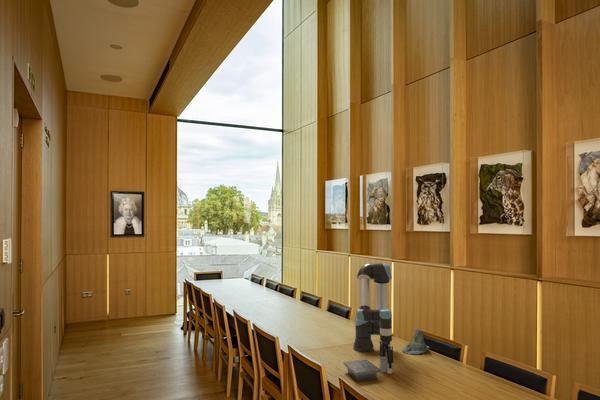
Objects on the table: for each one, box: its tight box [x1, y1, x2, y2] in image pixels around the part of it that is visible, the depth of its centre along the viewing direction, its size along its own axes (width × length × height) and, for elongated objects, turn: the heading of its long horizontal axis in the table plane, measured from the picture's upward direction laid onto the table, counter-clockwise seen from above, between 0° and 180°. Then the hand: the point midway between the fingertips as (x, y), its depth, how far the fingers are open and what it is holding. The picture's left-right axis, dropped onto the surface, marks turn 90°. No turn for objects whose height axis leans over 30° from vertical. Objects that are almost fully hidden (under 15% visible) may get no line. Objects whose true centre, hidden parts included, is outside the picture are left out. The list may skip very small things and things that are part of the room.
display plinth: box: [343, 358, 381, 382], centre depth 259 cm, size 20×16×6 cm
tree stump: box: [401, 328, 430, 356], centre depth 309 cm, size 18×20×18 cm
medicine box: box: [379, 356, 394, 374], centre depth 266 cm, size 8×4×9 cm, turn 92°
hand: (386, 371), depth 266 cm, fingers open, 7 cm apart
